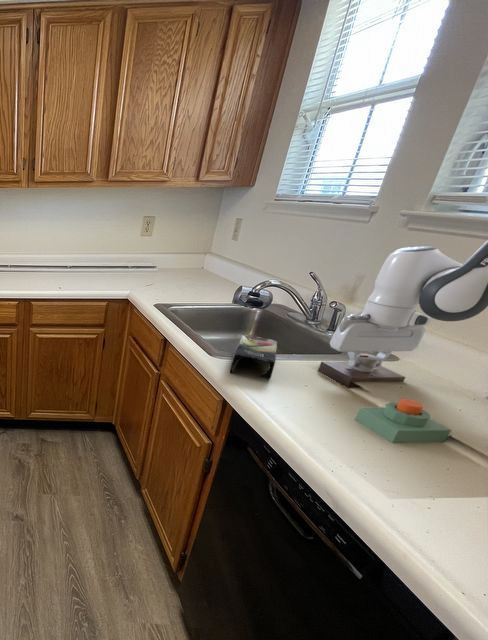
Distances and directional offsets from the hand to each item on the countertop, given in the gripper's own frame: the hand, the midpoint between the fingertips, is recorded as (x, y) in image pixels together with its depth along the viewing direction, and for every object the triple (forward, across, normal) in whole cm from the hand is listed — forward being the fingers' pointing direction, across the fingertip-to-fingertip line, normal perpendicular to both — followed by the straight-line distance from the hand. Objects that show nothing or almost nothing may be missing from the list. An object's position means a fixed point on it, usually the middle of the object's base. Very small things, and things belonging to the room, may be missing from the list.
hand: (363, 365), depth 108 cm
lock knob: (+1, 0, 0) cm, 1 cm away
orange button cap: (-1, -12, -24) cm, 27 cm away
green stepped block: (+4, -12, -24) cm, 27 cm away
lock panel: (+4, 0, 0) cm, 4 cm away
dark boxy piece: (+4, -23, +9) cm, 25 cm away
